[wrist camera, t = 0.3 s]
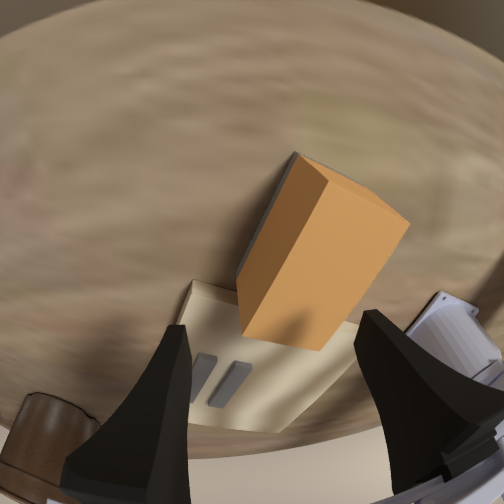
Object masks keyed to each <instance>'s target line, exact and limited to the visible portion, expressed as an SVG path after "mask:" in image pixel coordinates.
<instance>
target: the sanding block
mask: <svg viewBox="0 0 504 504" xmlns="http://www.w3.org/2000/svg"><path fill="white" fill-rule="evenodd" d="M409 225H410V223H409V222H407V221H406V220H405V219H404V218H403V217H402V216H400V215H399V214H398V213H397V212H396V211H395V210H393V209H392V208H391V207H390V206H388V205H387V204H386V203H385V202H384V201H382V200H381V199H380V198H379V197H377V196H376V195H375V194H374V193H372V192H371V191H370V190H369V189H367V188H366V187H365V186H363V185H362V184H360V183H358V182H357V181H355V180H353V179H351V178H349V177H347V176H345V175H343V174H341V173H339V172H337V171H336V170H334V169H332V168H330V167H328V166H326V165H324V164H321V163H319V162H317V161H315V160H313V159H311V158H309V157H307V156H305V155H303V154H301V153H298V152H296V151H295V152H294V154H293V156H292V158H291V160H290V162H289V164H288V166H287V168H286V170H285V172H284V174H283V176H282V178H281V180H280V182H279V184H278V186H277V188H276V190H275V192H274V195H273V197H272V199H271V201H270V203H269V205H268V207H267V209H266V211H265V213H264V215H263V217H262V219H261V221H260V223H259V225H258V227H257V229H256V231H255V233H254V235H253V238H252V240H251V242H250V244H249V246H248V248H247V250H246V252H245V254H244V256H243V258H242V260H241V262H240V264H239V266H238V268H237V270H236V272H235V275H236V285H237V295H238V304H239V314H240V323H241V333H242V336H244V337H249V338H253V339H258V340H262V341H267V342H272V343H277V344H282V345H287V346H292V347H297V348H303V349H308V350H314V351H320V350H321V349H322V348H323V347H324V346H325V344H326V343H327V342H328V341H329V339H330V338H331V337H332V336H333V334H334V333H335V332H336V331H337V329H338V328H339V327H340V325H341V324H342V323H343V322H344V320H345V319H346V318H347V316H348V315H349V314H350V312H351V311H352V310H353V308H354V307H355V306H356V304H357V303H358V302H359V300H360V299H361V297H362V296H363V295H364V293H365V292H366V290H367V289H368V288H369V286H370V285H371V283H372V282H373V281H374V279H375V278H376V276H377V275H378V273H379V272H380V270H381V269H382V267H383V266H384V264H385V263H386V261H387V260H388V258H389V257H390V255H391V254H392V252H393V251H394V249H395V248H396V246H397V244H398V243H399V241H400V240H401V238H402V237H403V235H404V233H405V232H406V230H407V228H408V227H409Z"/></svg>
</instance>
